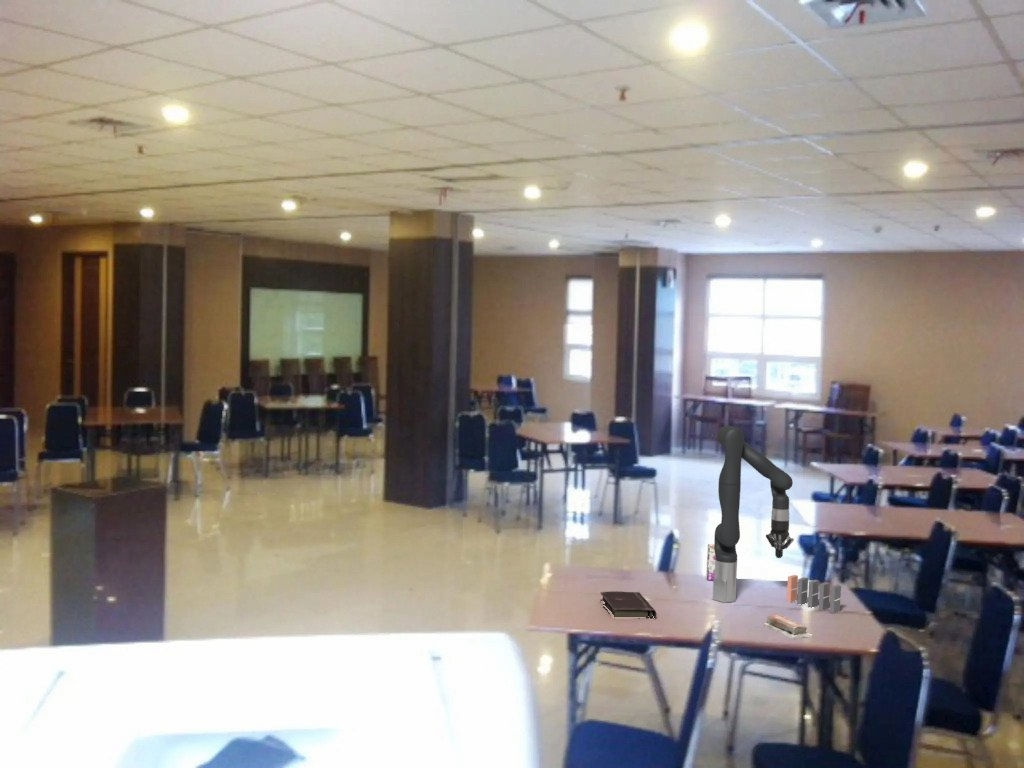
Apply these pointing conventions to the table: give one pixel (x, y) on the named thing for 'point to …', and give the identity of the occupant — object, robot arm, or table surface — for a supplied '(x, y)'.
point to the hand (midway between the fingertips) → (778, 557)
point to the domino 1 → (792, 588)
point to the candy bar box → (710, 563)
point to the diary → (627, 604)
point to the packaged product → (786, 626)
